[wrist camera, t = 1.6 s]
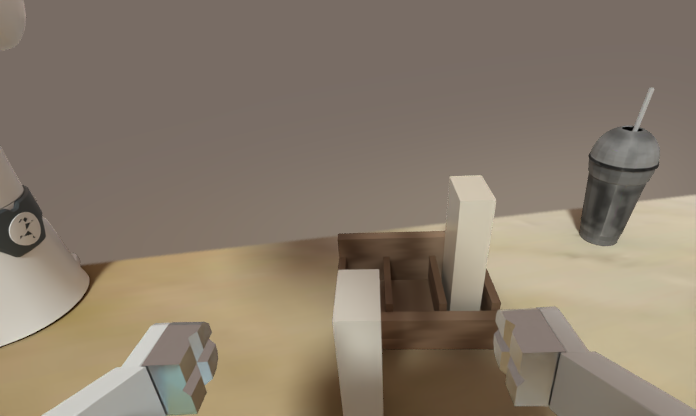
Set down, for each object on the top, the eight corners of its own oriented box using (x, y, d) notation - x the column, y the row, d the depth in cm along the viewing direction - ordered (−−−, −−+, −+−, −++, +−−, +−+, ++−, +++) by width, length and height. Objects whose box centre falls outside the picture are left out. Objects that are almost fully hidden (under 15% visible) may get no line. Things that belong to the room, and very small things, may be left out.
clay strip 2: (448, 319, 39) (460, 201, 32) (441, 286, 44) (449, 176, 37) (478, 319, 39) (496, 200, 32) (467, 286, 43) (481, 175, 36)
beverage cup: (556, 230, 54) (592, 88, 45) (593, 217, 57) (635, 79, 47) (603, 258, 49) (656, 100, 39) (642, 243, 51) (702, 90, 41)
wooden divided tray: (337, 349, 39) (330, 294, 35) (343, 283, 47) (338, 233, 44) (497, 349, 38) (508, 291, 34) (473, 281, 46) (480, 230, 42)
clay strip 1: (347, 446, 30) (332, 321, 23) (349, 389, 35) (338, 269, 28) (384, 447, 30) (380, 321, 23) (382, 389, 35) (379, 269, 28)
